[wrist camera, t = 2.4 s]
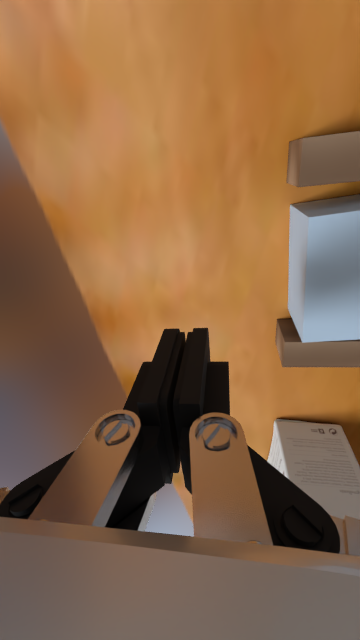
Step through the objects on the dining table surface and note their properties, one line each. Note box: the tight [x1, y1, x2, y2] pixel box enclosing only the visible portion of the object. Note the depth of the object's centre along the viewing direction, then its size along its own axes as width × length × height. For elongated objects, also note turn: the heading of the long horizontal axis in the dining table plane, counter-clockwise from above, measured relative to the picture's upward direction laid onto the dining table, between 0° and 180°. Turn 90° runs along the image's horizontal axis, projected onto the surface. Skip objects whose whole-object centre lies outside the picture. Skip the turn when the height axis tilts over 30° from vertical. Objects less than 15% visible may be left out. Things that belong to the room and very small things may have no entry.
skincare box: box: [267, 419, 360, 519], centre depth 21 cm, size 8×6×15 cm
